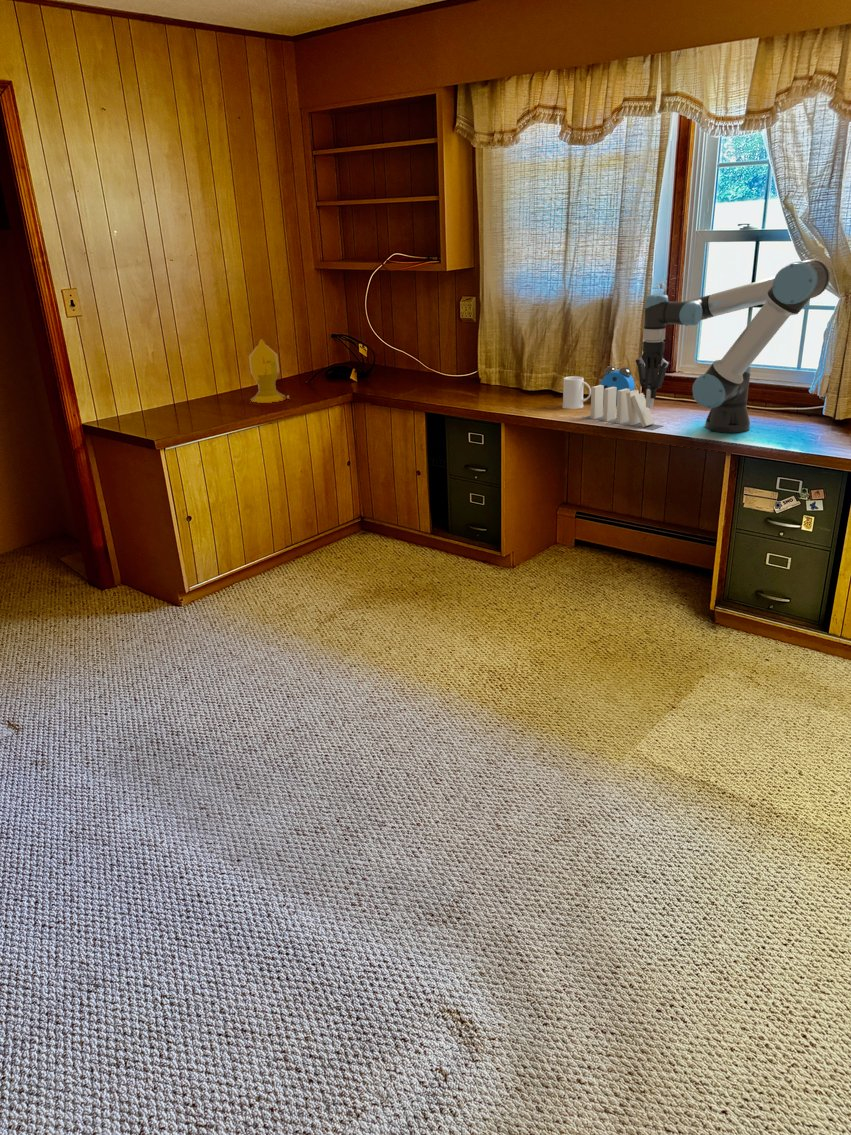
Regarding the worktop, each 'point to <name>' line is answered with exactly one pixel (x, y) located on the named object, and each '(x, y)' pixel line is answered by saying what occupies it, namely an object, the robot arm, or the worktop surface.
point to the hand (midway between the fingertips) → (649, 406)
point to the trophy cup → (265, 374)
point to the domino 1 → (597, 401)
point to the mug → (574, 392)
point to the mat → (627, 423)
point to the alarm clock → (618, 379)
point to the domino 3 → (622, 406)
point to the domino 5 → (642, 410)
